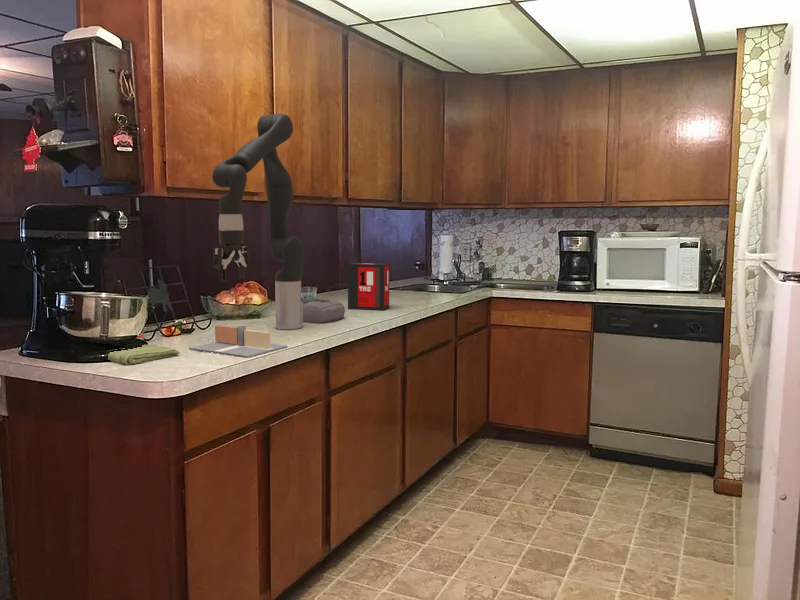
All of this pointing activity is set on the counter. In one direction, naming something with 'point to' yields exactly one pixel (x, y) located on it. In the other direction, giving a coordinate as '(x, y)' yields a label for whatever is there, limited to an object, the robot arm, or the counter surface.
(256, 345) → the slate board
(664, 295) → the counter surface
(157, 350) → the washcloth
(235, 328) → the salmon long narrow block
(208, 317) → the counter surface
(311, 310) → the soft grey pack
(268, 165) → the robot arm
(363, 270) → the cleaning product box
